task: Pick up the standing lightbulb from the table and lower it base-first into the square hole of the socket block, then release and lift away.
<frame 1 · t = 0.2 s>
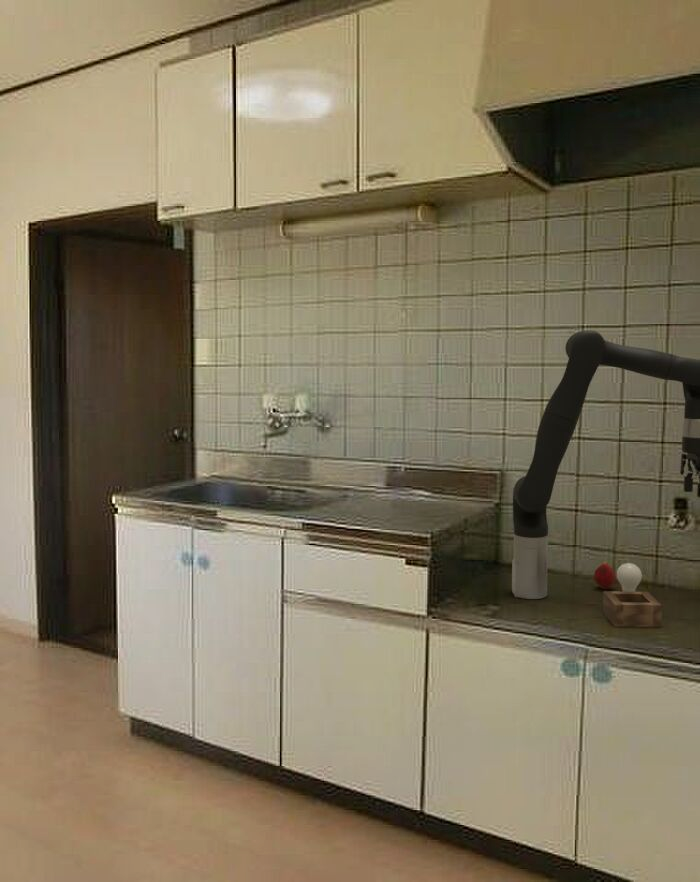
hand: (694, 494, 214), 29 cm above the counter, fingers open, 8 cm apart
socket block: (631, 619, 199), on the counter
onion: (604, 590, 224), on the counter
lightbulb: (628, 604, 211), on the counter
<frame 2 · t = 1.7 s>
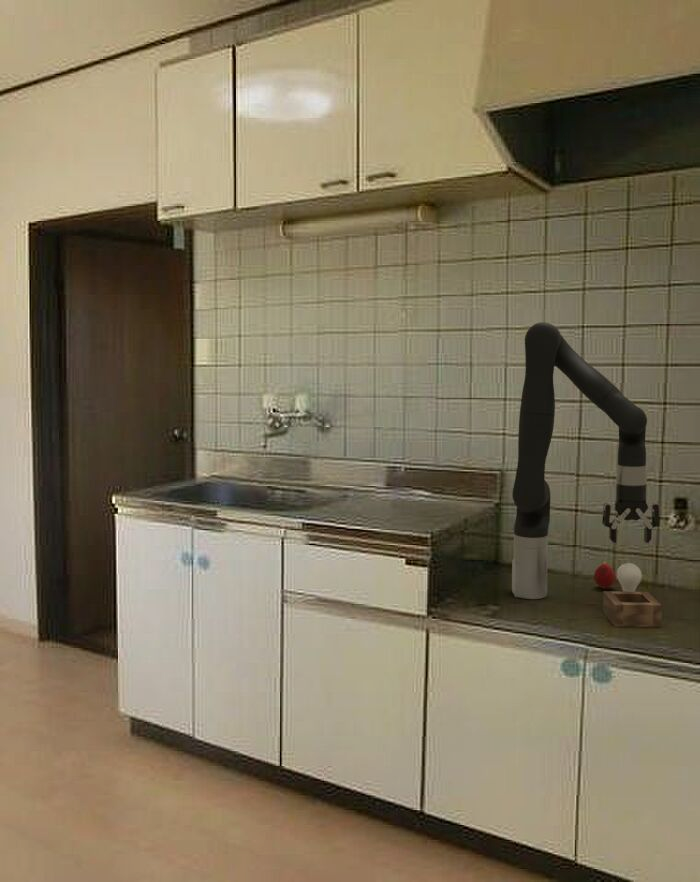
hand: (630, 542, 209), 17 cm above the counter, fingers open, 8 cm apart
nothing on the counter moved.
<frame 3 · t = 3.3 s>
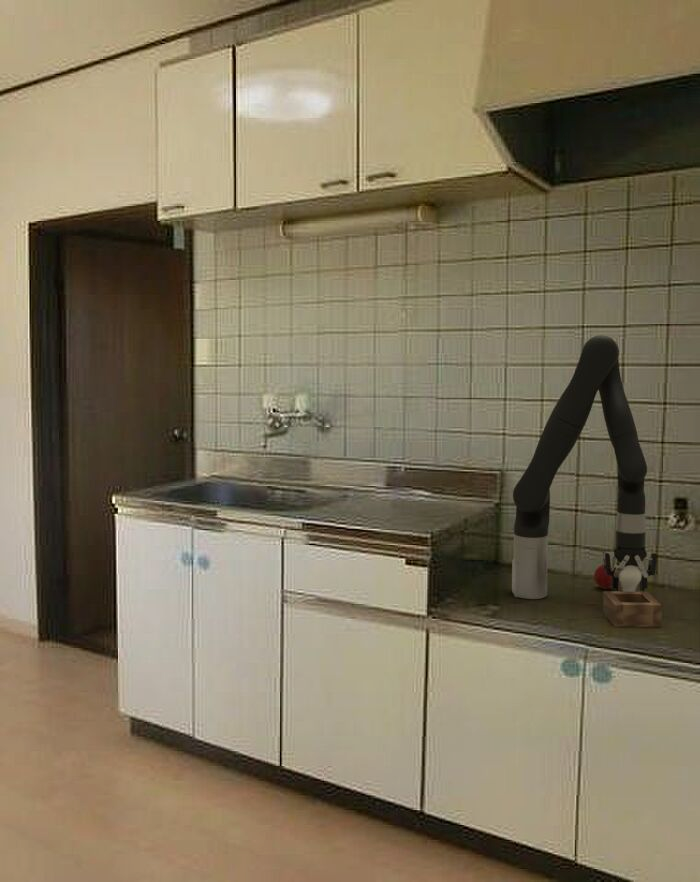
hand: (629, 590, 211), 4 cm above the counter, fingers closed on lightbulb, 6 cm apart
lightbulb: (628, 604, 211), on the counter, touching gripper
everything else where it was.
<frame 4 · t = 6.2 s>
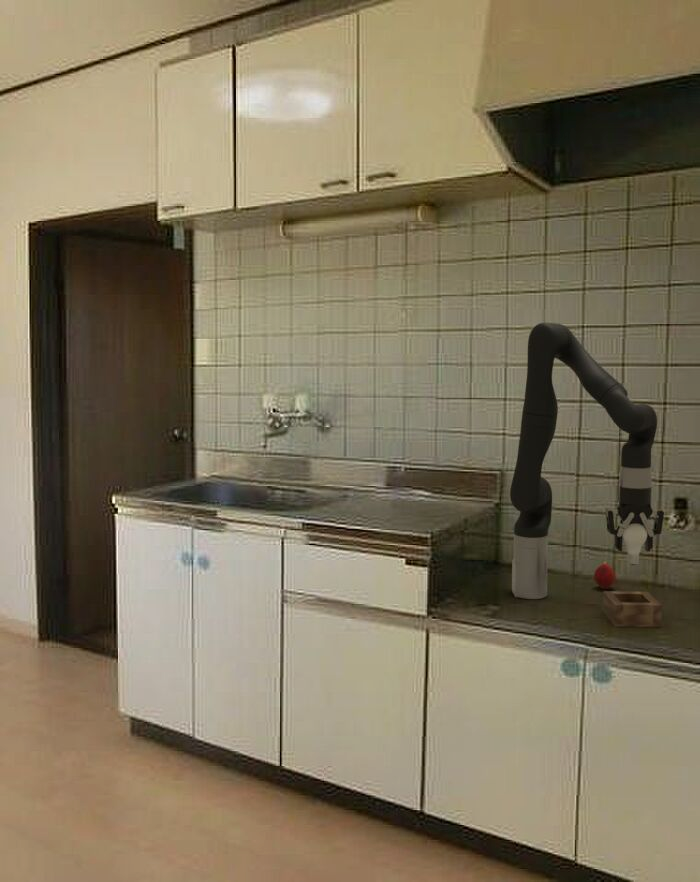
hand: (633, 550, 197), 18 cm above the counter, fingers closed on lightbulb, 6 cm apart
lightbulb: (633, 565, 197), point 14 cm above the counter, touching gripper
everything else where it was.
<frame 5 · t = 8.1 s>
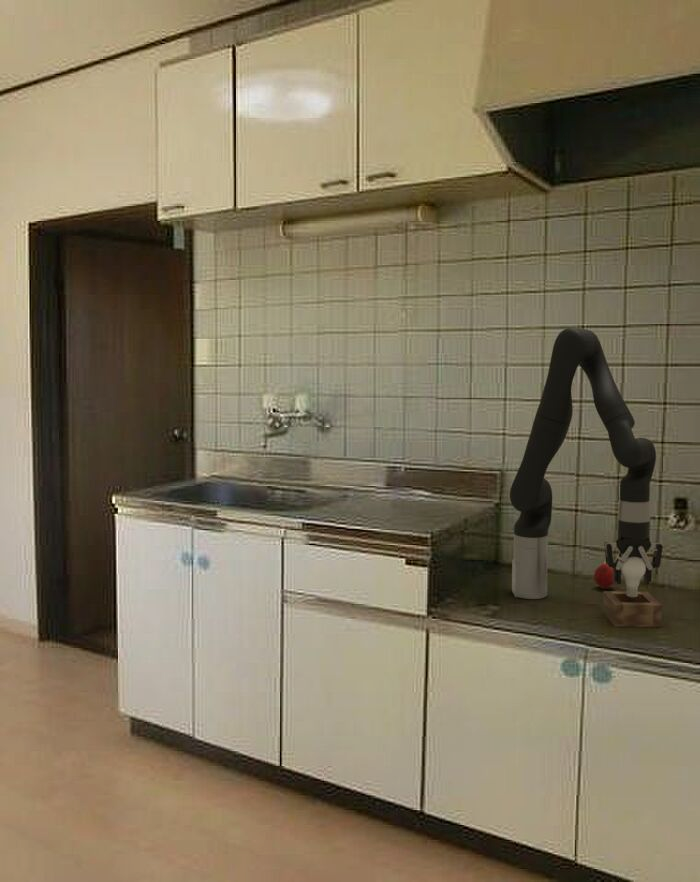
hand: (632, 583, 198), 9 cm above the counter, fingers closed on lightbulb, 6 cm apart
lightbulb: (631, 598, 198), point 5 cm above the counter, touching gripper
everything else where it was.
when the fingers open (6 cm above the counter, at t = 9.5 s): lightbulb drops 2 cm, resting on socket block.
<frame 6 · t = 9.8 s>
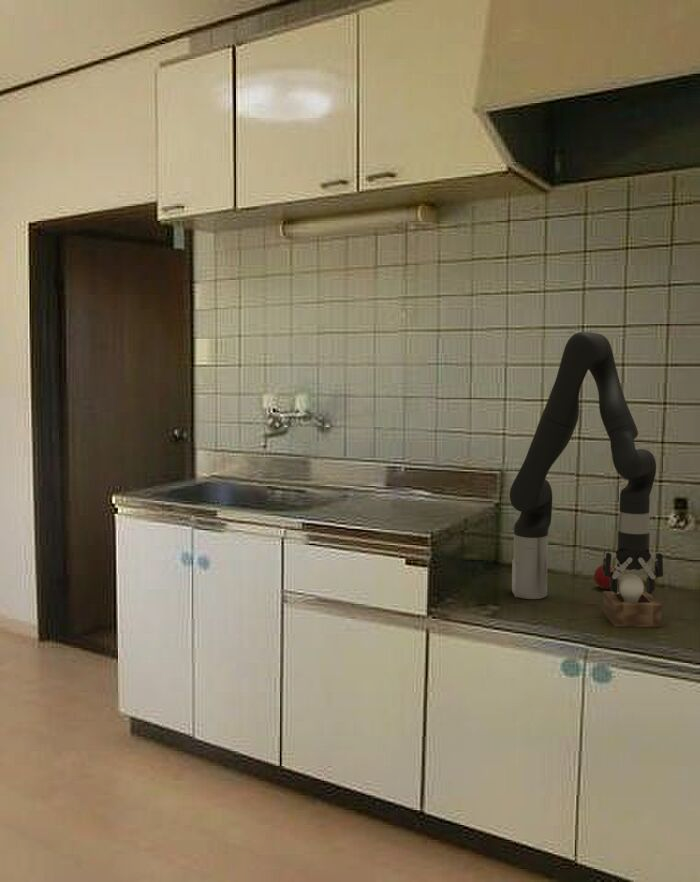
hand: (631, 592, 198), 7 cm above the counter, fingers open, 8 cm apart
lightbulb: (631, 617, 199), resting on socket block
everything else where it was.
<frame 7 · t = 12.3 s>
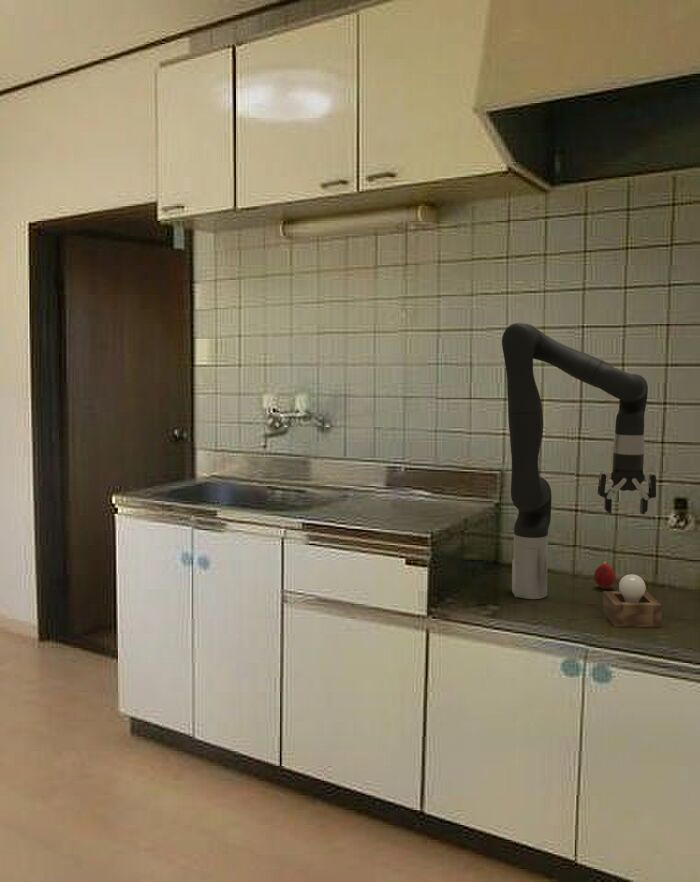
hand: (625, 513, 205), 25 cm above the counter, fingers open, 8 cm apart
nothing on the counter moved.
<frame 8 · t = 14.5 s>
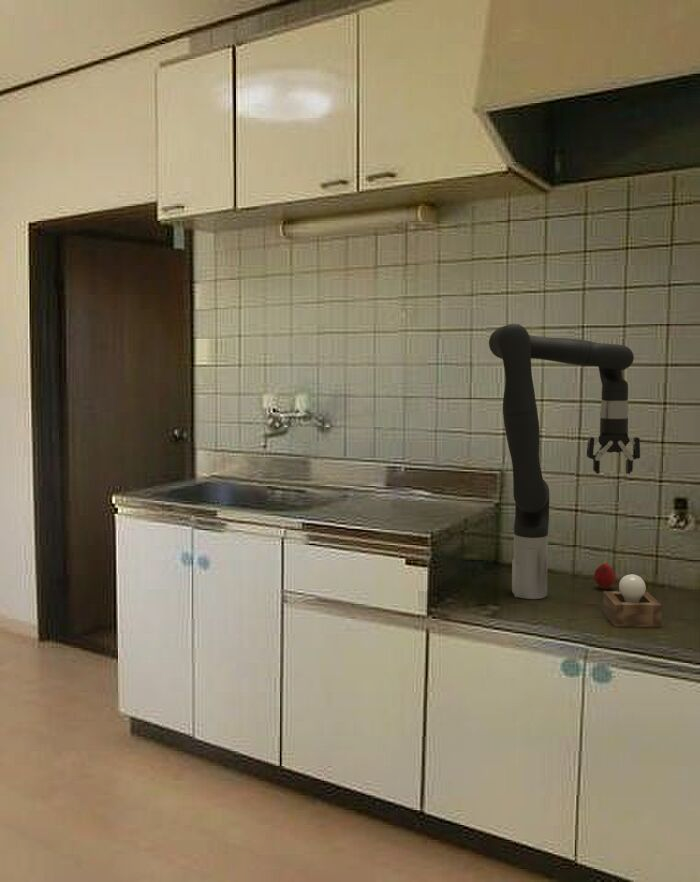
hand: (612, 473, 223), 33 cm above the counter, fingers open, 8 cm apart
nothing on the counter moved.
at the end: lightbulb 0.1 cm off-centre on the socket block, point 0.3 cm above the socket block's base; lightbulb tilted 0°; the gripper is holding nothing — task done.
